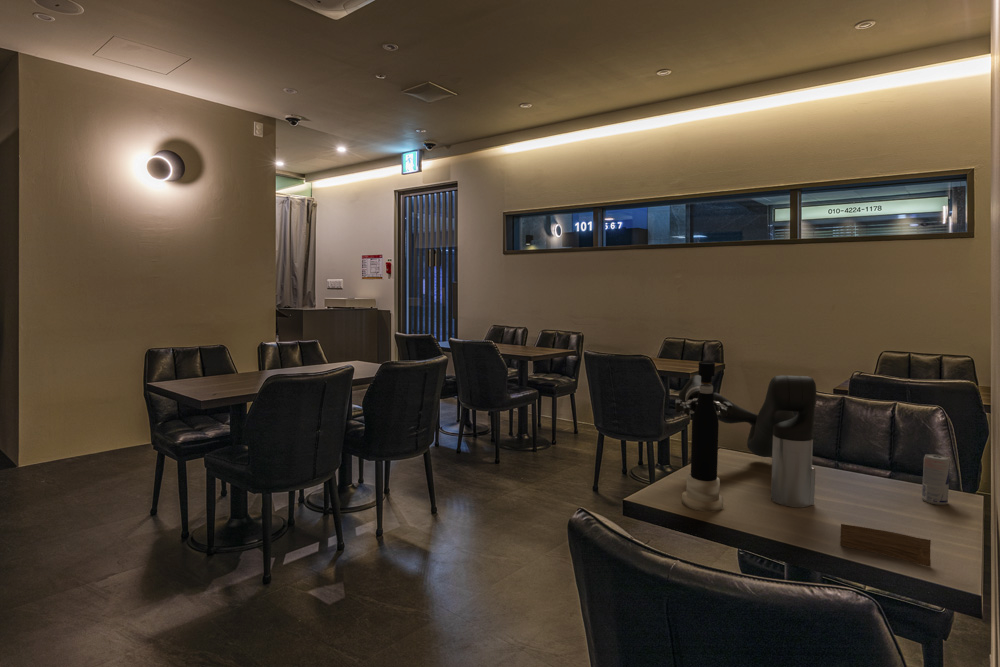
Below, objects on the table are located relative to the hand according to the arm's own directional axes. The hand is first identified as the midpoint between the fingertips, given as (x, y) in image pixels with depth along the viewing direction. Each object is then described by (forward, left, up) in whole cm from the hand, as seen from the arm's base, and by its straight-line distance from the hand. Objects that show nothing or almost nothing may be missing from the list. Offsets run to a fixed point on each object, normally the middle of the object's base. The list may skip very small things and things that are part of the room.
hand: (705, 412), depth 139 cm
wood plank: (-25, +29, -25) cm, 46 cm away
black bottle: (-1, -2, -17) cm, 18 cm away
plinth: (-1, -2, -24) cm, 25 cm away
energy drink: (-63, +1, -25) cm, 67 cm away
